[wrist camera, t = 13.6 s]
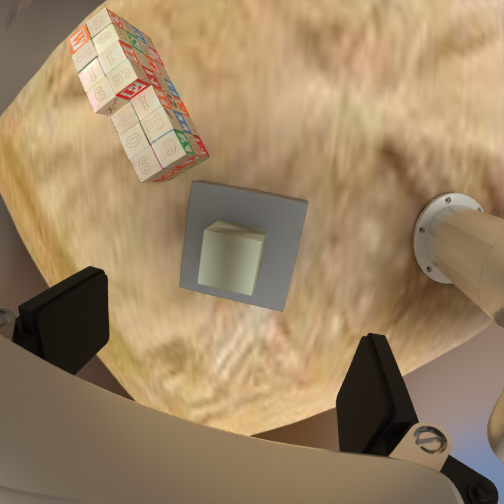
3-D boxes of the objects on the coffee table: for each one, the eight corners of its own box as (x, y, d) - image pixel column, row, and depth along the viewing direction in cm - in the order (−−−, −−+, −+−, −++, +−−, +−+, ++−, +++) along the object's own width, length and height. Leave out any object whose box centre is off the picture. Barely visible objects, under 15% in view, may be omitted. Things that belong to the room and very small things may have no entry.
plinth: (307, 200, 38) (307, 203, 35) (284, 301, 42) (283, 311, 40) (199, 180, 40) (192, 181, 37) (186, 279, 44) (179, 287, 41)
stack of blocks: (212, 157, 39) (175, 154, 27) (172, 179, 40) (125, 187, 29) (149, 37, 35) (104, 5, 23) (116, 61, 37) (65, 39, 25)
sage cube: (267, 229, 37) (261, 241, 31) (258, 276, 39) (251, 295, 33) (219, 219, 38) (204, 229, 32) (212, 266, 39) (197, 283, 34)
